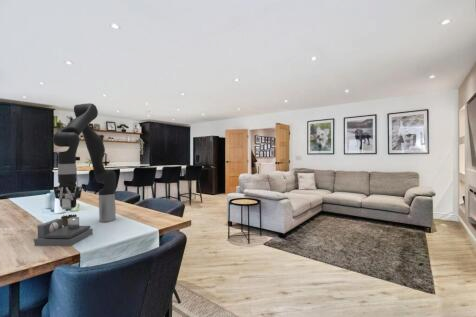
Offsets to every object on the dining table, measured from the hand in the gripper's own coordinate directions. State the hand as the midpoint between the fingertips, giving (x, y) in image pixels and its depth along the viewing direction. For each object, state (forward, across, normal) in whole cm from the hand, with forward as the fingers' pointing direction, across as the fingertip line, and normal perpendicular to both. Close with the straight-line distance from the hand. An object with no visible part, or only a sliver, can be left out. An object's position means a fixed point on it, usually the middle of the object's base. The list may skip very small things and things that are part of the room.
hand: (68, 207), depth 117 cm
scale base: (+17, -5, +3) cm, 19 cm away
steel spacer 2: (+13, -4, +7) cm, 15 cm away
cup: (+18, -17, +18) cm, 30 cm away
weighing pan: (+14, -4, +3) cm, 15 cm away
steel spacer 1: (0, 0, 0) cm, 0 cm away
